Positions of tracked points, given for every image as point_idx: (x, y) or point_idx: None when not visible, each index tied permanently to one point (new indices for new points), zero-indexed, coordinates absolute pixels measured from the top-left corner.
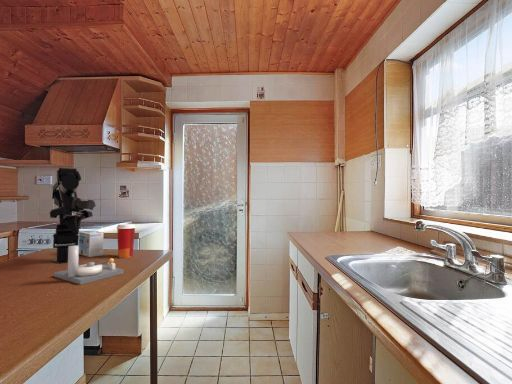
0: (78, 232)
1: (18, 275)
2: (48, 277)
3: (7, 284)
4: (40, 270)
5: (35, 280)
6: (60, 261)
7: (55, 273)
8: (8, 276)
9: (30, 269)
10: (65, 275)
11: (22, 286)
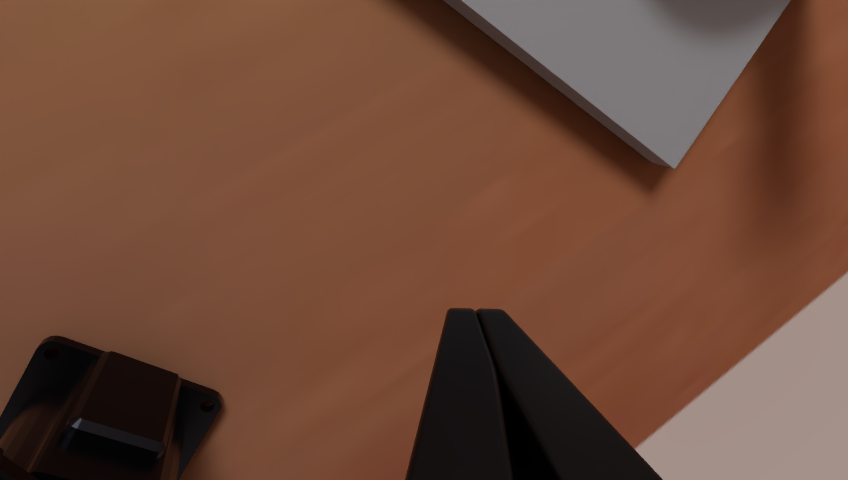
0: (461, 328)
1: None
2: (662, 191)
3: (767, 326)
4: None
5: (719, 228)
6: (184, 428)
7: (683, 148)
8: None
9: None
10: (779, 12)
11: (823, 215)
